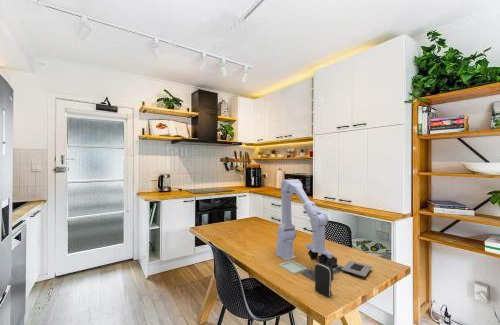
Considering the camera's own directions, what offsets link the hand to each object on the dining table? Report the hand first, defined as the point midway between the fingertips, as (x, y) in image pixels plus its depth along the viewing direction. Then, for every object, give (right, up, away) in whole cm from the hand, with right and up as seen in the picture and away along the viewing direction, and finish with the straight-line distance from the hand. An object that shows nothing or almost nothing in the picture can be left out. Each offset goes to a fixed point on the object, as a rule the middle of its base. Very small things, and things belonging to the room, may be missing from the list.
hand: (318, 268), depth 111 cm
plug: (0, -1, 0) cm, 1 cm away
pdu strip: (+3, -3, +2) cm, 5 cm away
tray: (-11, -3, +6) cm, 13 cm away
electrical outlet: (+20, -4, +3) cm, 20 cm away
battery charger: (-2, -3, -16) cm, 16 cm away
